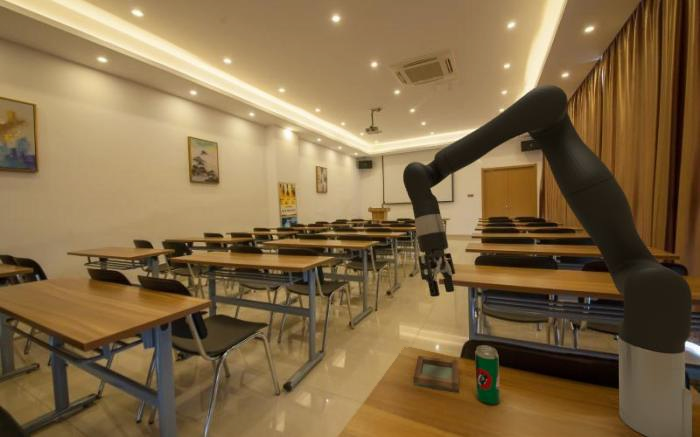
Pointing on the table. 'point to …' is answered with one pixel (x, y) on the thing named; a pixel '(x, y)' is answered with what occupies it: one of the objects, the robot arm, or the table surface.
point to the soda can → (487, 374)
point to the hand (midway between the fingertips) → (443, 294)
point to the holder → (437, 373)
